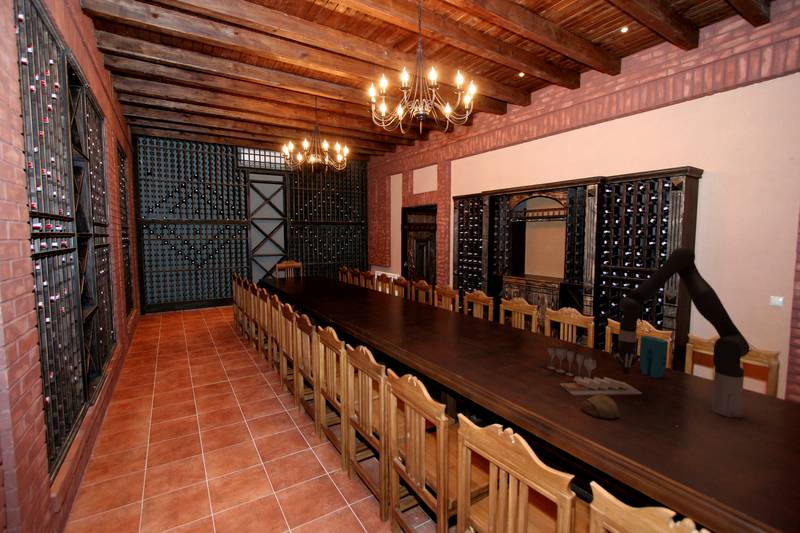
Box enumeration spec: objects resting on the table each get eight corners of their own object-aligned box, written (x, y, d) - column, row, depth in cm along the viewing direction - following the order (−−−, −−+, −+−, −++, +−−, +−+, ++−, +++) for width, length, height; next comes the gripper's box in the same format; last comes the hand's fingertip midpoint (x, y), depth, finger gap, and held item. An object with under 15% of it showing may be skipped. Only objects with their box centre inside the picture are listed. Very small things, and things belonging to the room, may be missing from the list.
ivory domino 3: (619, 386, 182) (600, 380, 181) (617, 389, 182) (599, 383, 181) (612, 382, 187) (594, 376, 186) (611, 385, 187) (593, 379, 186)
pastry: (622, 413, 160) (623, 395, 159) (615, 424, 150) (616, 405, 150) (586, 403, 169) (587, 385, 168) (578, 412, 160) (579, 394, 159)
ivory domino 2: (608, 387, 181) (590, 380, 180) (607, 390, 181) (589, 383, 181) (602, 382, 186) (584, 376, 185) (601, 385, 186) (583, 379, 186)
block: (666, 378, 199) (668, 341, 197) (659, 379, 197) (662, 342, 195) (644, 370, 210) (646, 335, 208) (638, 371, 208) (640, 336, 206)
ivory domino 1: (598, 387, 181) (580, 380, 180) (597, 390, 181) (579, 384, 180) (592, 383, 186) (574, 376, 185) (591, 386, 186) (573, 379, 185)
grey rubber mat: (642, 394, 178) (642, 393, 178) (573, 395, 176) (573, 394, 176) (624, 383, 191) (624, 382, 191) (559, 384, 189) (559, 383, 189)
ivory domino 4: (629, 386, 182) (610, 380, 181) (627, 389, 182) (609, 383, 181) (622, 382, 187) (604, 376, 186) (621, 385, 187) (603, 379, 186)
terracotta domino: (588, 387, 181) (568, 387, 180) (588, 390, 181) (568, 390, 180) (583, 383, 186) (563, 383, 185) (583, 386, 186) (563, 386, 185)
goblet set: (544, 367, 213) (545, 344, 212) (551, 365, 216) (552, 343, 215) (590, 384, 189) (592, 359, 188) (597, 382, 192) (599, 357, 191)
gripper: (634, 336, 186) (632, 370, 188) (609, 337, 185) (607, 371, 187) (645, 341, 179) (643, 376, 180) (619, 341, 178) (617, 377, 179)
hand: (625, 373), depth 183 cm, fingers closed
